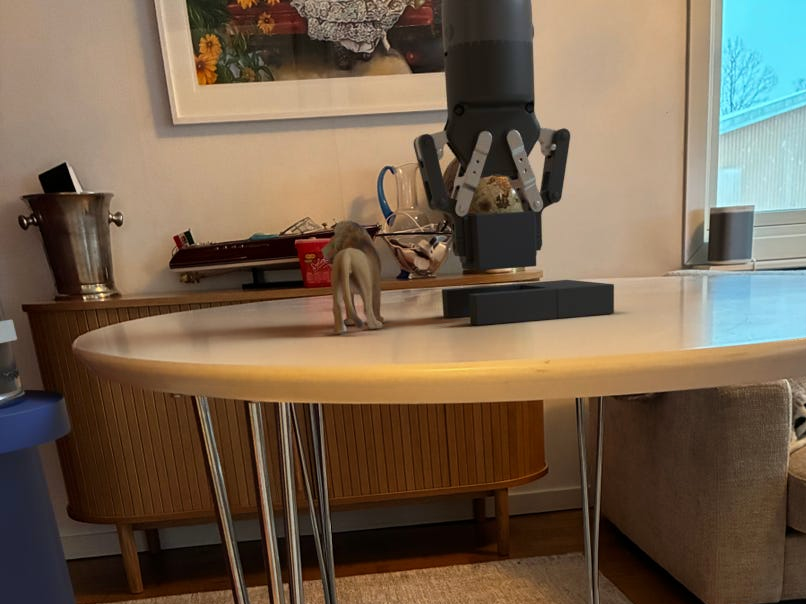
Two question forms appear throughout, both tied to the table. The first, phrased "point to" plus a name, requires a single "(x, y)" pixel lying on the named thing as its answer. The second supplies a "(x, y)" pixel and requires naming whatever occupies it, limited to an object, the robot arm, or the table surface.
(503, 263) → the small black block
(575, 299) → the big pad
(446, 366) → the table surface
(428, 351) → the table surface
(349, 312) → the lion figurine
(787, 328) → the table surface
